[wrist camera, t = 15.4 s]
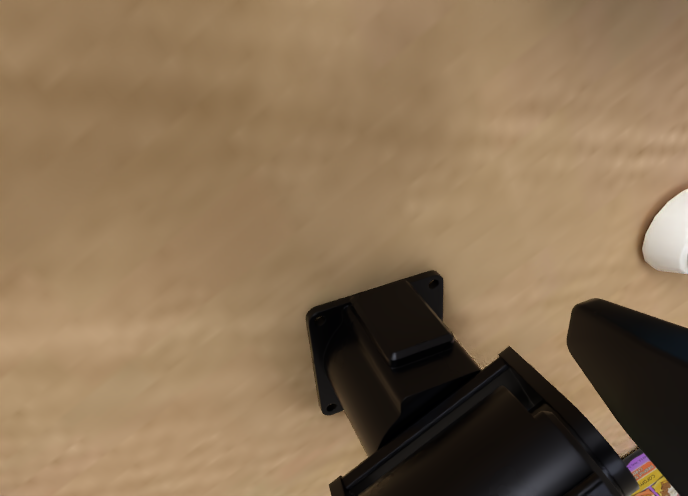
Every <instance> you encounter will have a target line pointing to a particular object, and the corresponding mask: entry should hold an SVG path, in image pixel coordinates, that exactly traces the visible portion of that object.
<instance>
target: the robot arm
mask: <svg viewBox="0 0 688 496" xmlns="http://www.w3.org/2000/svg"><path fill="white" fill-rule="evenodd" d="M432 280H434V281H433V282H432V283H430V282H431V281H432ZM429 283H430V284H429ZM319 316H322V317H321V318H320V319H318V320H315V319H316V318H317V317H319ZM306 324H307V331H308V337H309V344H310V350H311V357H312V363H313V370H314V376H315V382H316V389H317V395H318V402H319V406H320V408H321V410H322V413H323V414H325V415H332V414H335V413H338V412H340V411H343V410H344V411H345V413H346V415H347V417H348V419H349V421H350V423H351V425H352V427H353V429H354V431H355V433H356V435H357V437H358V439H359V440H360V442H361V444H362V446H363V448H364V450H365V452H366V454H367V456H368V458H367V459H366V460H364V461H363V462H362V463H360V464H359V465H358V466H356V467H355V468H354V469H352V470H351V471H350V472H349V473H347V474H346V475H345V476H343V477H342V476H339V477H338V478H337V479H336V480H334V481H333V482H332V483H330V484H329V487H330V491H331V496H631V495H632V494H633V493H634V492H636V491H637V490H638V489H640V487H639V484H638V482H637V481H636V479H635V477H634V476H633V474H632V473H631V471H630V470H629V469H628V467H627V466H626V465H625V463H624V462H623V461H622V459H621V458H620V457H619V455H618V454H617V453H616V452H615V451H614V449H613V448H612V447H611V446H610V444H609V443H608V442H607V441H606V440H605V439H604V437H603V436H602V435H601V434H600V433H599V432H598V430H597V429H596V428H595V427H594V426H593V425H592V424H591V423H590V422H589V420H588V419H587V418H586V417H585V416H584V415H583V414H582V413H581V412H580V411H579V410H578V409H577V408H576V407H575V406H574V405H573V404H572V403H571V402H570V401H569V400H568V399H567V398H566V397H565V396H563V395H562V394H561V393H560V392H559V391H558V390H557V389H556V388H555V387H554V386H553V385H551V384H550V383H549V382H548V381H547V380H546V379H545V378H544V377H543V376H542V375H541V374H539V373H538V372H537V371H536V370H535V369H534V368H533V367H532V366H531V365H530V364H529V363H527V362H526V361H525V360H524V359H523V358H522V357H521V356H520V355H519V354H518V353H517V352H515V351H514V350H513V349H512V348H511V347H510V346H509V347H507V348H506V349H505V350H504V351H502V352H501V353H500V354H498V355H499V357H498V358H497V359H496V360H494V361H493V362H492V363H491V364H489V365H488V366H487V367H485V368H484V369H483V370H481V369H480V368H479V366H478V365H477V364H476V363H475V362H474V360H473V359H472V358H471V357H470V356H469V354H468V353H467V352H466V351H465V350H464V349H463V347H462V346H461V345H460V344H459V343H458V341H457V340H456V339H455V338H454V336H453V334H452V332H451V331H450V330H449V329H448V328H447V326H446V325H445V324H444V323H443V278H442V277H441V276H440V275H439V274H438V273H437V271H434V270H432V271H427V272H424V273H421V274H418V275H415V276H411V277H408V278H405V279H402V280H399V281H395V282H392V283H389V284H386V285H383V286H380V287H376V288H373V289H370V290H367V291H364V292H361V293H357V294H354V295H351V296H348V297H345V298H342V299H338V300H335V301H332V302H329V303H326V304H322V305H319V306H316V307H314V308H312V309H310V310H309V311H308V313H307V315H306ZM567 346H568V349H569V351H570V353H571V355H572V356H573V358H574V359H575V361H576V362H577V364H578V365H579V367H580V368H581V369H582V371H583V372H584V374H585V375H586V377H587V378H588V379H589V381H590V382H591V384H592V385H593V387H594V388H595V390H596V391H597V392H598V394H599V395H600V397H601V398H602V400H603V401H604V402H605V404H606V405H607V407H608V408H609V410H610V411H611V412H612V414H613V415H614V417H615V418H616V419H617V421H618V422H619V423H620V425H621V426H622V427H623V429H624V430H625V431H626V432H627V434H628V435H629V436H630V437H631V439H632V440H633V441H634V442H635V443H636V444H637V446H638V447H639V448H640V449H641V450H642V452H643V453H644V454H645V455H646V456H647V457H648V459H649V460H650V461H651V462H652V463H653V464H654V466H655V467H656V468H657V469H658V470H659V472H660V473H661V474H662V475H663V476H664V477H665V479H666V480H667V481H668V482H669V483H670V484H671V486H672V487H673V488H674V489H675V490H676V492H677V493H678V494H679V495H680V496H688V328H685V327H682V326H679V325H676V324H673V323H670V322H667V321H664V320H661V319H658V318H656V317H653V316H650V315H647V314H644V313H641V312H638V311H635V310H632V309H629V308H626V307H623V306H620V305H617V304H614V303H611V302H608V301H605V300H602V299H598V298H594V299H590V300H587V301H584V302H582V303H579V304H577V305H575V306H574V308H573V309H572V313H571V318H570V323H569V329H568V334H567Z"/></svg>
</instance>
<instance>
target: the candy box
mask: <svg viewBox="0 0 688 496" xmlns="http://www.w3.org/2000/svg"><path fill="white" fill-rule="evenodd" d="M622 461H623V462H624V463H625V465H626V466H627V467H628V469H629V470H630V471H631V473H632V474H633V476H634V477H635V479H636V481H637V482H638V484H639V487H640V489H638V490H637V491H636V492H634V493H633V494H632V495H631V496H680V495H679V494H678V493H677V492H676V490H675V489H674V488H673V487H672V486H671V484H670V483H669V482H668V481H667V480H666V479H665V477H664V476H663V475H662V474H661V473H660V472H659V470H658V469H657V468H656V467H655V466H654V464H653V463H652V462H651V461H650V460H649V459H648V457H647V456H646V455H645V454H644V453H643V452H642V450H641V449H640V448H639V449H637V450H636V451H634V452H633V453H631V454H630V455H629V456H627V457H626V458H624V459H623V460H622Z"/></svg>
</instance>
